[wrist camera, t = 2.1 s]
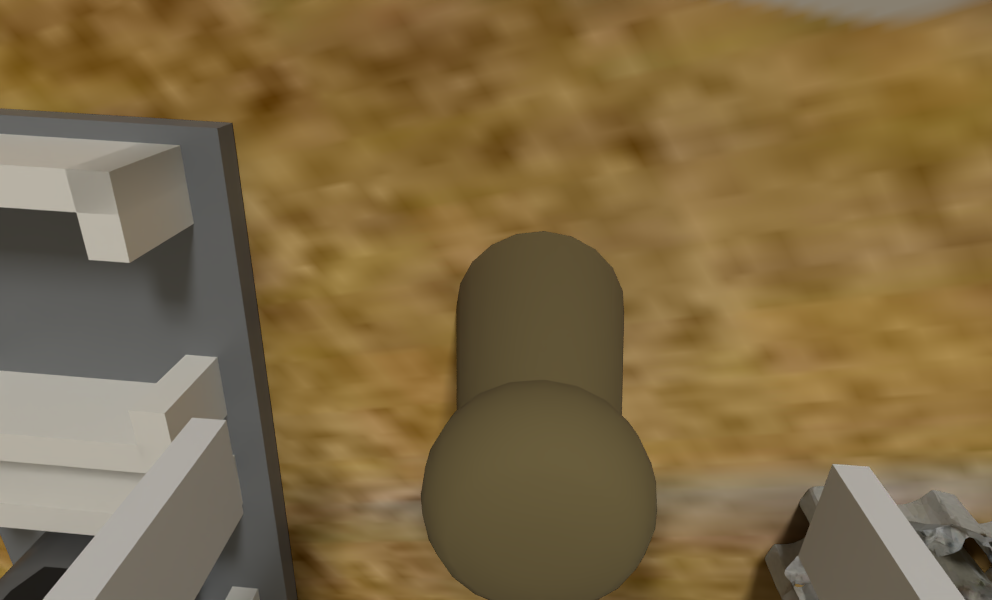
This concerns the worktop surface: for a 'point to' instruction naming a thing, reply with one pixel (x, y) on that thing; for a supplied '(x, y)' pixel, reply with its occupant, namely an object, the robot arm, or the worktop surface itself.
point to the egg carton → (936, 525)
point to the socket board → (127, 335)
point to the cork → (539, 431)
